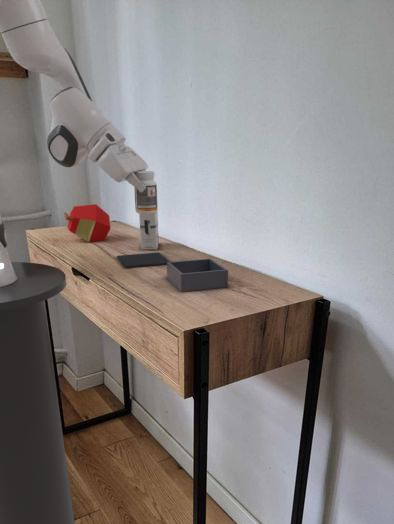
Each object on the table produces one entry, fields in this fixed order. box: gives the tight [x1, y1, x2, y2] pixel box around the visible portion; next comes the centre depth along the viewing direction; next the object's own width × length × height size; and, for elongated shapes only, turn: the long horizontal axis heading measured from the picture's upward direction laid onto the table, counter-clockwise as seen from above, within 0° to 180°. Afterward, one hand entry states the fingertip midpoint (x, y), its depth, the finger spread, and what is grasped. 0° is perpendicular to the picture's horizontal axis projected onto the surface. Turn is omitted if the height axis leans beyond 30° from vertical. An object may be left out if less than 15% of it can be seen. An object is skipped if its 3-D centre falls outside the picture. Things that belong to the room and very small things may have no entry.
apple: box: [63, 203, 111, 243], centre depth 154 cm, size 12×12×15 cm
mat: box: [116, 252, 170, 269], centre depth 132 cm, size 12×12×1 cm
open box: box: [166, 258, 229, 293], centre depth 113 cm, size 11×11×4 cm
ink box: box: [138, 211, 160, 251], centre depth 145 cm, size 8×5×12 cm, turn 0°
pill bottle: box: [133, 170, 159, 214], centre depth 122 cm, size 6×6×10 cm
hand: (148, 188), depth 122 cm, fingers closed on pill bottle, 6 cm apart
